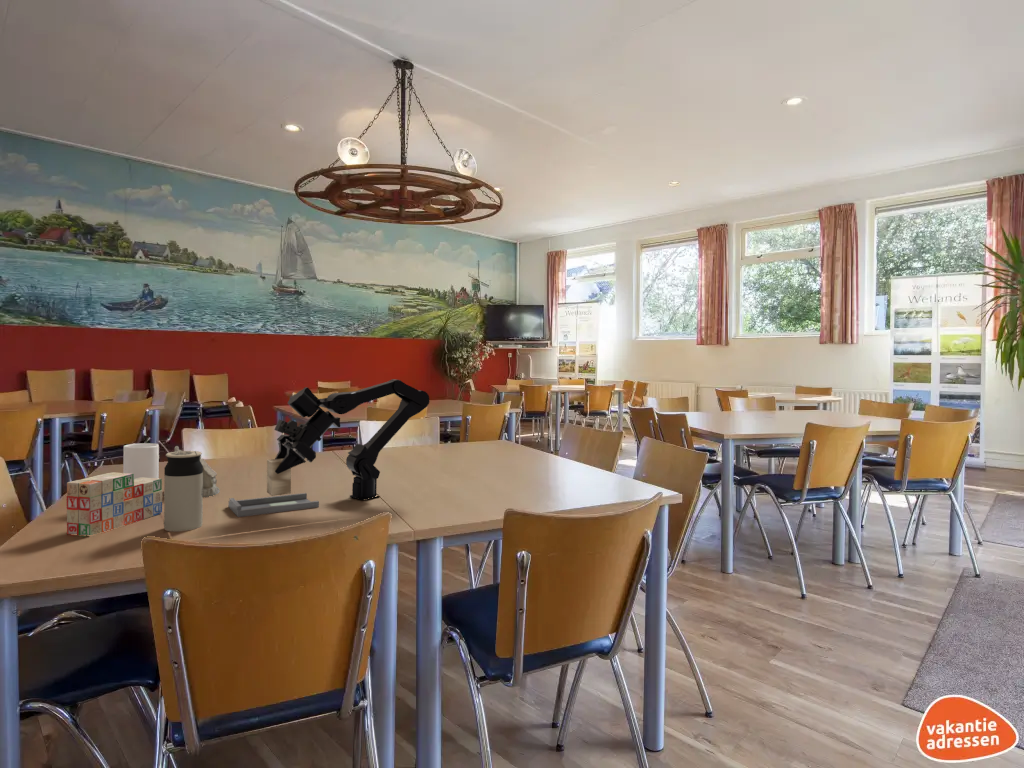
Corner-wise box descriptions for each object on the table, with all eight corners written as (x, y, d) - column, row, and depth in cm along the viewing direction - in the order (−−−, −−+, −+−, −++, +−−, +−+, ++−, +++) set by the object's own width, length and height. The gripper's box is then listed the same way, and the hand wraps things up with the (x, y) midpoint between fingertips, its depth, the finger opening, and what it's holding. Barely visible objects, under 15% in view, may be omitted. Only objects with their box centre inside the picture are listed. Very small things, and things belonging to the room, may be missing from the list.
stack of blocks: (141, 512, 153) (141, 465, 153) (162, 513, 152) (162, 466, 152) (66, 535, 132) (66, 481, 132) (89, 537, 131) (89, 483, 131)
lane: (305, 499, 171) (305, 489, 171) (318, 508, 161) (319, 497, 161) (228, 508, 159) (228, 497, 159) (237, 518, 149) (238, 507, 149)
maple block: (285, 490, 164) (285, 458, 164) (290, 493, 160) (290, 460, 160) (267, 492, 161) (266, 459, 161) (271, 495, 157) (271, 462, 157)
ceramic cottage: (208, 498, 169) (208, 446, 169) (151, 499, 169) (151, 447, 169) (233, 490, 184) (233, 442, 185) (181, 490, 184) (181, 443, 185)
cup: (133, 499, 166) (134, 442, 166) (164, 499, 167) (164, 443, 166) (116, 506, 158) (116, 447, 157) (148, 506, 159) (149, 447, 158)
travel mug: (161, 534, 135) (162, 456, 134) (166, 525, 142) (167, 451, 141) (200, 531, 138) (201, 455, 137) (203, 522, 145) (204, 450, 145)
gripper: (284, 406, 170) (243, 447, 164) (303, 412, 155) (259, 457, 149) (311, 432, 175) (273, 472, 169) (333, 439, 160) (291, 484, 154)
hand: (273, 471), depth 160 cm, fingers closed on maple block, 5 cm apart
